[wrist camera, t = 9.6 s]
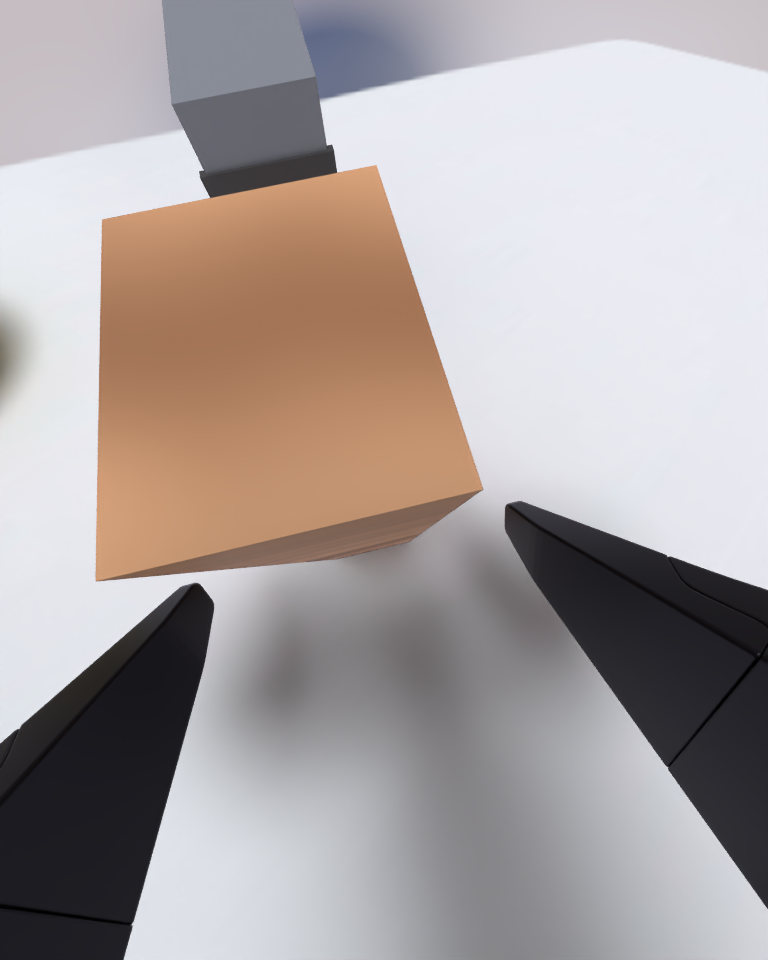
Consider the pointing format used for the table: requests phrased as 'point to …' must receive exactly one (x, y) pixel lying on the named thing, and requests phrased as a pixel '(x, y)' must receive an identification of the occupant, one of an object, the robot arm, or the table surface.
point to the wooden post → (268, 384)
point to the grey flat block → (245, 93)
